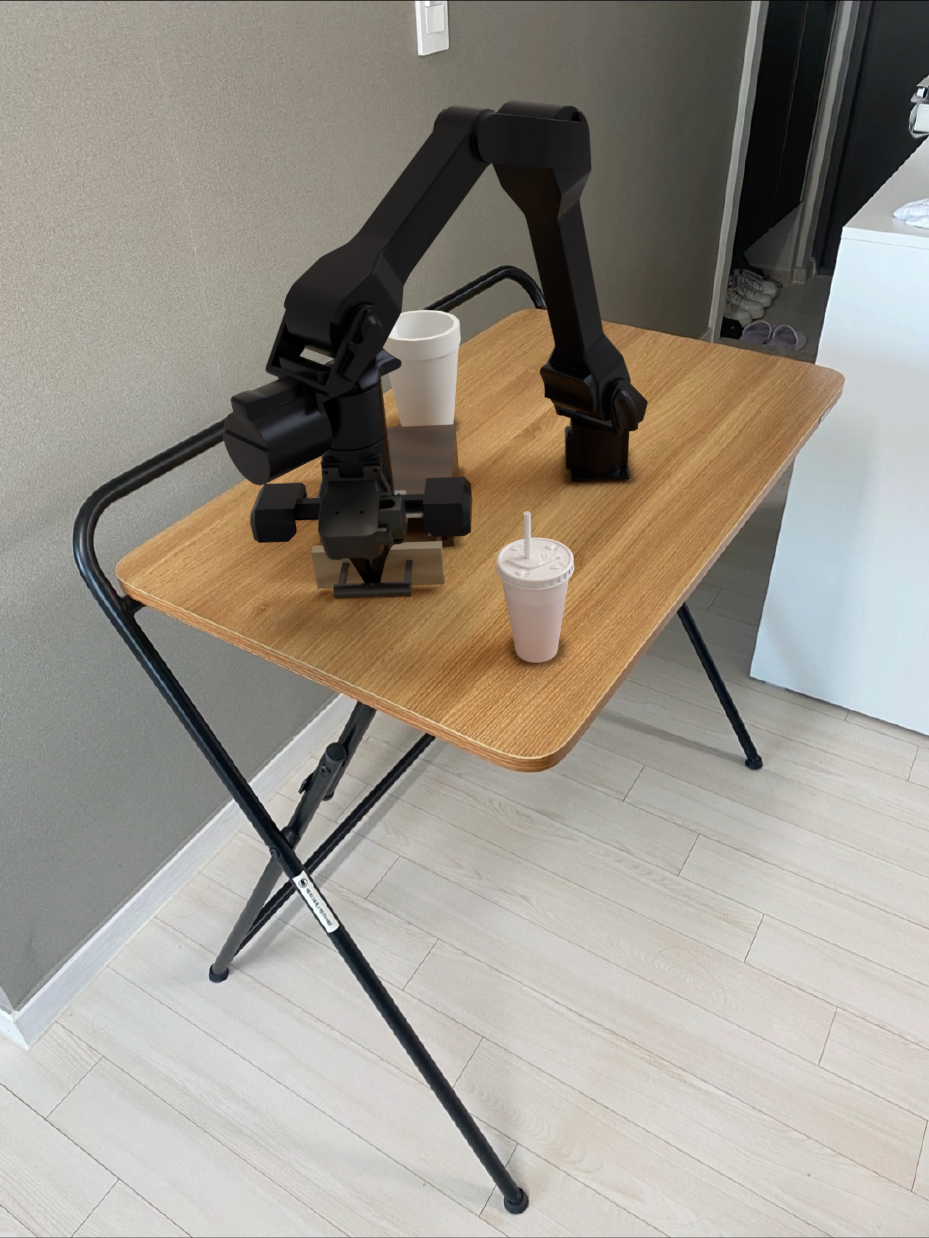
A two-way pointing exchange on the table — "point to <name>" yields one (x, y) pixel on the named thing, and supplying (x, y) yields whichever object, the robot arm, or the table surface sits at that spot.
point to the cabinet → (422, 458)
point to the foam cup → (425, 366)
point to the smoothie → (535, 592)
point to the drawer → (386, 568)
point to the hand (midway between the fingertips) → (374, 588)
